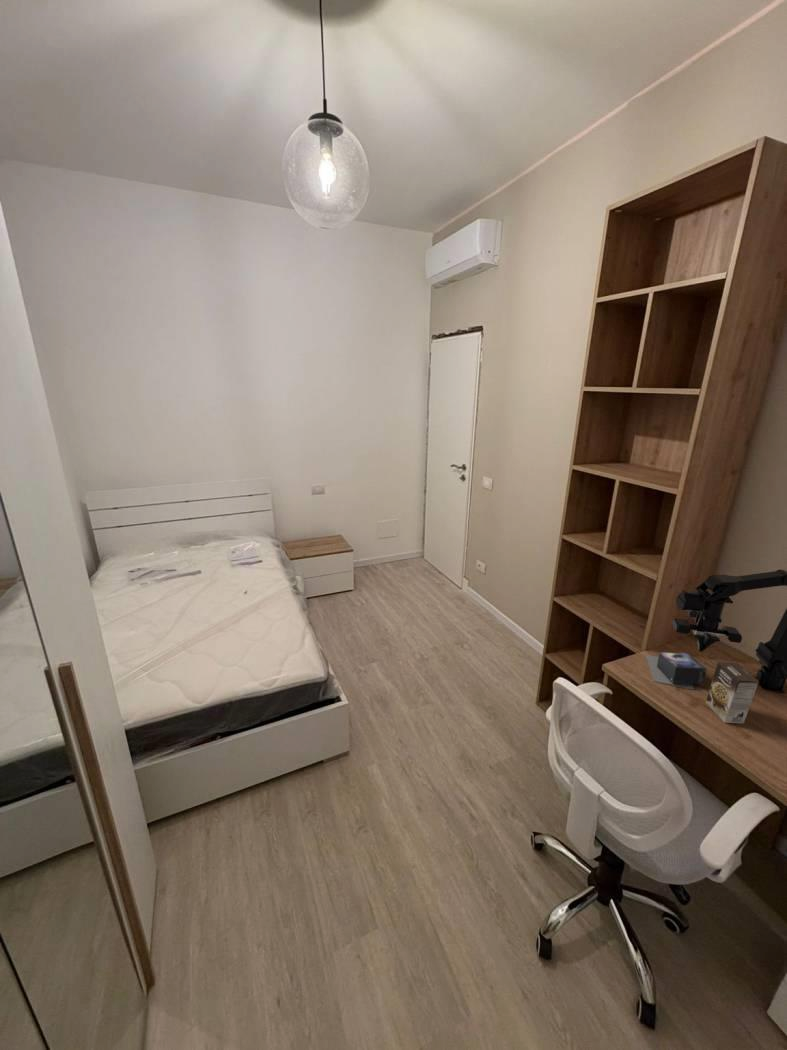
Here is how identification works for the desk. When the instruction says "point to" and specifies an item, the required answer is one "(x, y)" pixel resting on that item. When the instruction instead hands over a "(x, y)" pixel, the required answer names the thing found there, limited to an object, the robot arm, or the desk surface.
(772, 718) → the desk surface
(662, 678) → the mat
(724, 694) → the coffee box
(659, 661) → the small box
